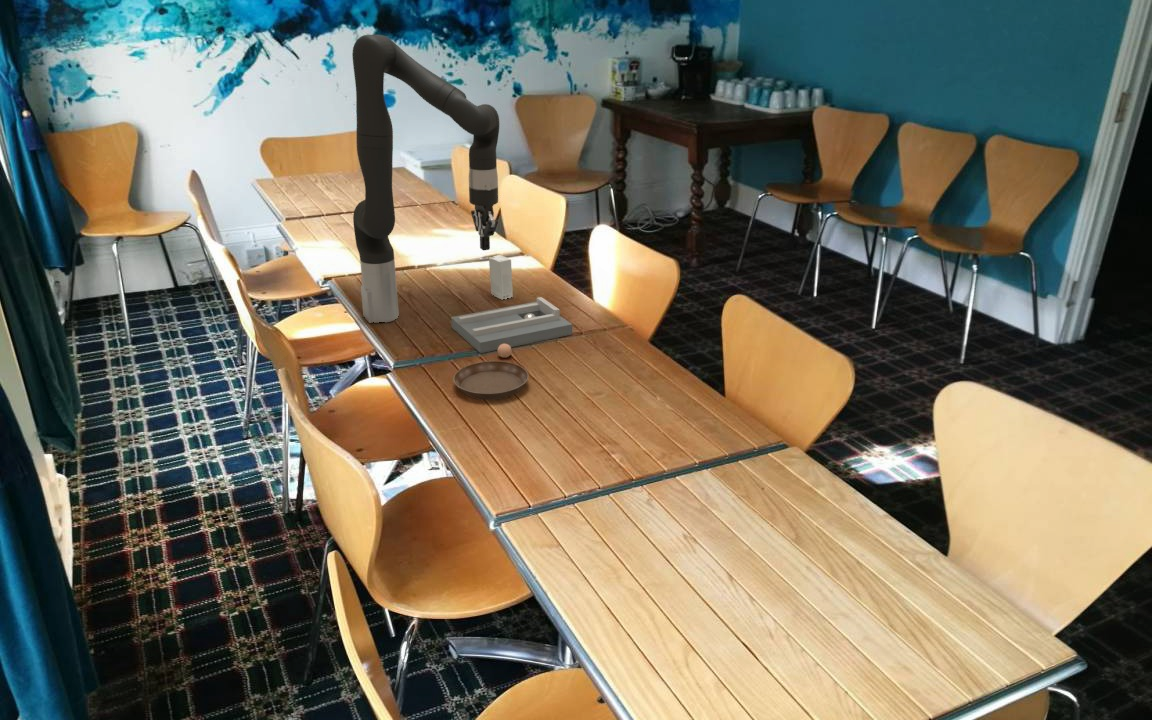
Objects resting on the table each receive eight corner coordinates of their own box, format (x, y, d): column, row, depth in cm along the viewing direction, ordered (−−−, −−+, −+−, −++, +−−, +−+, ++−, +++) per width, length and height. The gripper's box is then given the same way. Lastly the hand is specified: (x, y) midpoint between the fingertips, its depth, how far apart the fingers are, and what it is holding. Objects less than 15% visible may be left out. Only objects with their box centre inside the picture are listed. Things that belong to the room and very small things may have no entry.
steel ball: (532, 332, 242) (524, 323, 240) (525, 327, 245) (517, 318, 243) (542, 322, 243) (534, 313, 240) (535, 317, 246) (527, 308, 243)
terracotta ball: (501, 361, 223) (500, 347, 221) (495, 355, 226) (494, 342, 224) (514, 358, 224) (513, 345, 223) (508, 353, 227) (507, 340, 226)
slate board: (480, 353, 227) (479, 331, 224) (451, 327, 243) (450, 306, 240) (572, 334, 239) (572, 313, 236) (538, 310, 255) (538, 291, 252)
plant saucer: (459, 408, 200) (459, 396, 198) (449, 375, 215) (448, 364, 214) (535, 399, 204) (535, 388, 203) (520, 368, 219) (520, 357, 218)
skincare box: (513, 297, 265) (512, 259, 260) (501, 300, 262) (500, 261, 257) (501, 292, 269) (500, 254, 264) (489, 295, 266) (488, 256, 261)
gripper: (460, 181, 232) (462, 244, 239) (479, 191, 221) (481, 258, 228) (486, 178, 235) (488, 241, 242) (507, 189, 225) (508, 254, 232)
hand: (485, 249), depth 235 cm, fingers closed
